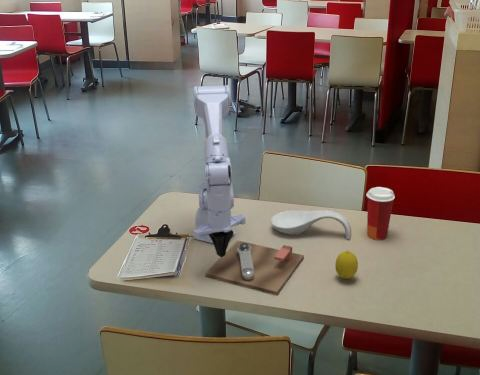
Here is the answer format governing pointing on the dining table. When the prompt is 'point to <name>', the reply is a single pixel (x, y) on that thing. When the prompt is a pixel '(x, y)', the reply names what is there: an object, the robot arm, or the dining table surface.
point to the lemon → (346, 264)
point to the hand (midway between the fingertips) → (220, 254)
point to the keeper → (284, 253)
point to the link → (246, 261)
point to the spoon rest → (305, 221)
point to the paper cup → (379, 212)
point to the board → (256, 269)
